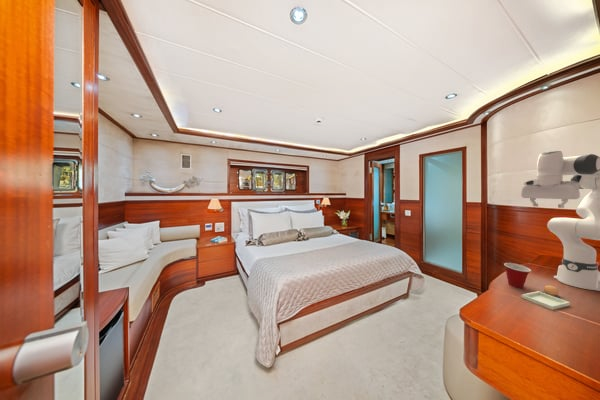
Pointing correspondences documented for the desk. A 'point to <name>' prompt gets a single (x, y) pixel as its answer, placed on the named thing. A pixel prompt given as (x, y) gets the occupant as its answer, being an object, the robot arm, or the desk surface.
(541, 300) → the tray
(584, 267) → the robot arm
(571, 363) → the desk surface
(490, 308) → the desk surface
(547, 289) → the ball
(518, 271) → the plastic cup
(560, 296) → the coaster
